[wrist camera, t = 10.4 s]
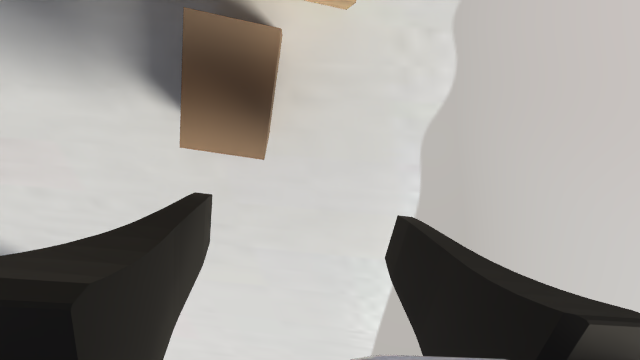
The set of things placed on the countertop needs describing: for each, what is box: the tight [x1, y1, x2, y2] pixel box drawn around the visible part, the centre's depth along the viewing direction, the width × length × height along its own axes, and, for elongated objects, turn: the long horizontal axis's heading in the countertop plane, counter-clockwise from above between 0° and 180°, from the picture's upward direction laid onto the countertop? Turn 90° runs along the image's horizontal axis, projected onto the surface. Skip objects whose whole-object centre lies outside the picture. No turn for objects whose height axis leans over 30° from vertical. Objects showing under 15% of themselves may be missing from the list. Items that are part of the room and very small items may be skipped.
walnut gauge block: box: [180, 7, 282, 160], centre depth 16 cm, size 6×4×5 cm, turn 169°
